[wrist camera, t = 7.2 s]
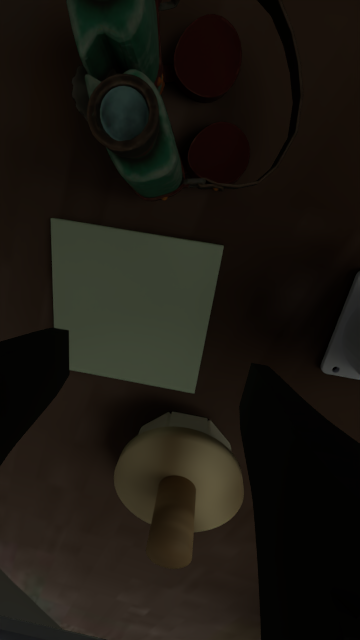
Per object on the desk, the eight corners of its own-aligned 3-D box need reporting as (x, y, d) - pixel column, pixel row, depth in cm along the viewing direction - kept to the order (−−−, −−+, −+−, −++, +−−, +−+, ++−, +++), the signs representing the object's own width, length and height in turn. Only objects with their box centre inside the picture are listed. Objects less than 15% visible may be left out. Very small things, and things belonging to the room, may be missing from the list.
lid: (232, 421, 20) (240, 494, 15) (249, 516, 24) (259, 603, 18) (103, 431, 22) (68, 500, 17) (136, 519, 26) (115, 598, 20)
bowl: (237, 424, 24) (240, 451, 21) (218, 490, 27) (219, 521, 24) (142, 405, 24) (133, 430, 22) (135, 472, 28) (126, 501, 25)
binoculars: (393, 141, 8) (63, 209, 9) (276, 184, 18) (127, 214, 18) (437, -438, 5) (-79, -258, 6) (266, 3, 15) (89, 47, 15)
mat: (223, 245, 19) (223, 246, 18) (194, 389, 23) (194, 393, 23) (55, 218, 19) (50, 218, 19) (58, 363, 24) (55, 367, 23)
